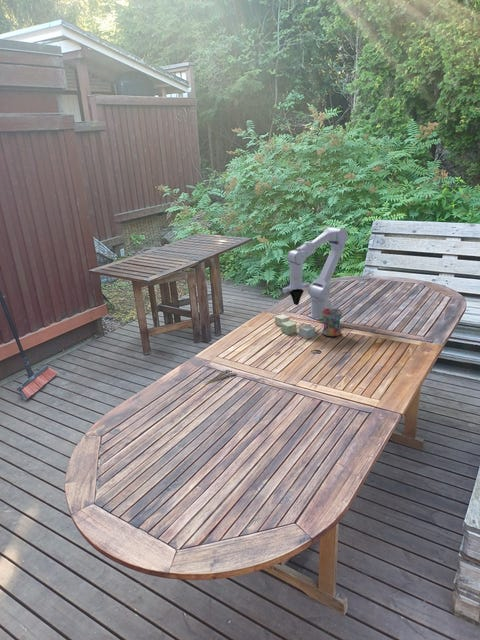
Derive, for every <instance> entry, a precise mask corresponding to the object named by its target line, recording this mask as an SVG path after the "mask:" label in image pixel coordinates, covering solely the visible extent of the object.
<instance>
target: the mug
mask: <svg viewBox="0 0 480 640" xmlns="http://www.w3.org/2000/svg"><path fill="white" fill-rule="evenodd" d="M321 313H322V315H323V328H322V330H321V333H322V334H323V335H324V336H326V337H337V336H340V335H341V334H342V331H341V328H340V323H341V322H340V321H341V318H342V316H343V313H344V311H343V310H341V309H339V308H334V307H331V308H328V309H324V310H322V311H321Z"/></svg>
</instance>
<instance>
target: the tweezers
mask: <svg viewBox="0 0 480 640" xmlns="http://www.w3.org/2000/svg"><path fill="white" fill-rule="evenodd" d="M229 370H231V371H230V373H229V372H228V371H229ZM226 372H227V373H226ZM224 373H225V374H224ZM222 374H223V375H222ZM235 374H236V375H237V374H238V373H237V372H235V371H234V372H233V371H232V369H225V370H223V371H221V372H220V373H219V374H217V375H215V376H214V377H213V378H211V379H209V380H208V381H206V382H205V383H203V386H205V385H208V384H211V383H212V382H216V381H219V380H222V379H225V378H228V377H227V376H229V377H231V376H230V375H232V376H235ZM220 375H221V376H220Z"/></svg>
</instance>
